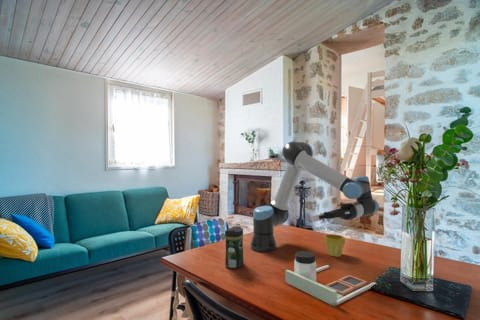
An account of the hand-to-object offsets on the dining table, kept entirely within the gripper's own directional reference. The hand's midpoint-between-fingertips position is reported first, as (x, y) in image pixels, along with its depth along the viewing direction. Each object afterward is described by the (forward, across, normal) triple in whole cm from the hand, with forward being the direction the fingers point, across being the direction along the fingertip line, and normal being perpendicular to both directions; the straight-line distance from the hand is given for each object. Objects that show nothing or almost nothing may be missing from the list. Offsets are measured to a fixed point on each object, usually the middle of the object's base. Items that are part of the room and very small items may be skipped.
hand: (312, 218), depth 128 cm
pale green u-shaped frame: (+2, -6, -27) cm, 27 cm away
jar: (+11, -1, -25) cm, 27 cm away
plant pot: (-25, +20, -23) cm, 39 cm away
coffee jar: (+30, +28, -17) cm, 45 cm away
